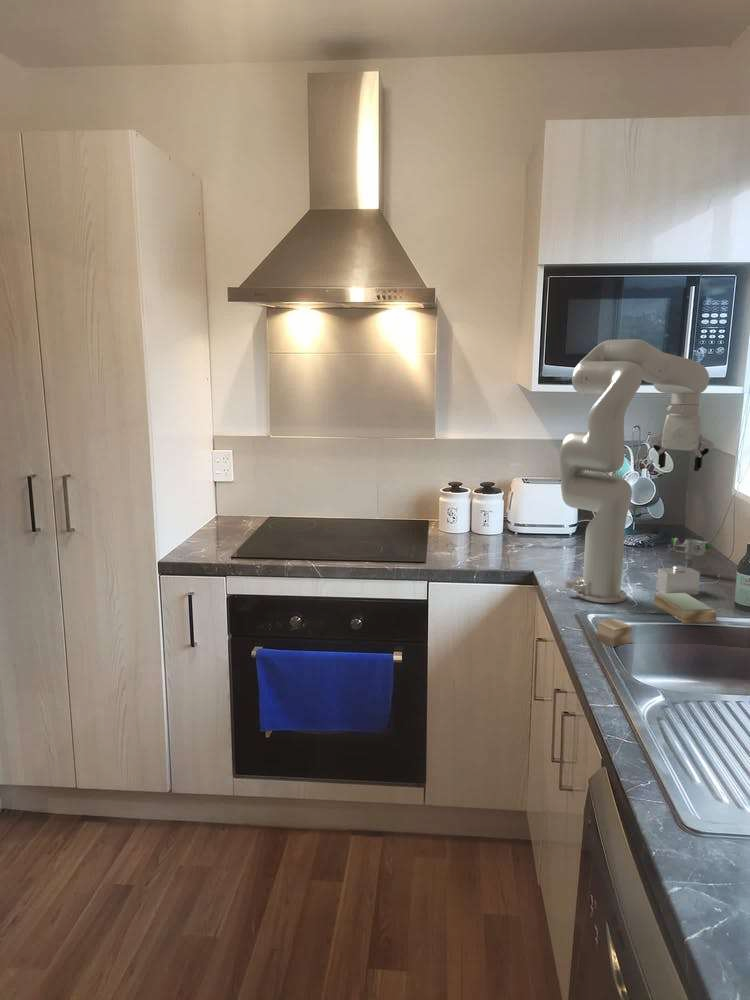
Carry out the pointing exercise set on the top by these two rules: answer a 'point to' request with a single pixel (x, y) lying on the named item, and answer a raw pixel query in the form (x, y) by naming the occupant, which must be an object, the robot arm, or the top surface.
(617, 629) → the ash block
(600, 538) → the robot arm
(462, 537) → the top surface
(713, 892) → the top surface
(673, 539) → the mechanical component
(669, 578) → the housing
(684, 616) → the wooden block
